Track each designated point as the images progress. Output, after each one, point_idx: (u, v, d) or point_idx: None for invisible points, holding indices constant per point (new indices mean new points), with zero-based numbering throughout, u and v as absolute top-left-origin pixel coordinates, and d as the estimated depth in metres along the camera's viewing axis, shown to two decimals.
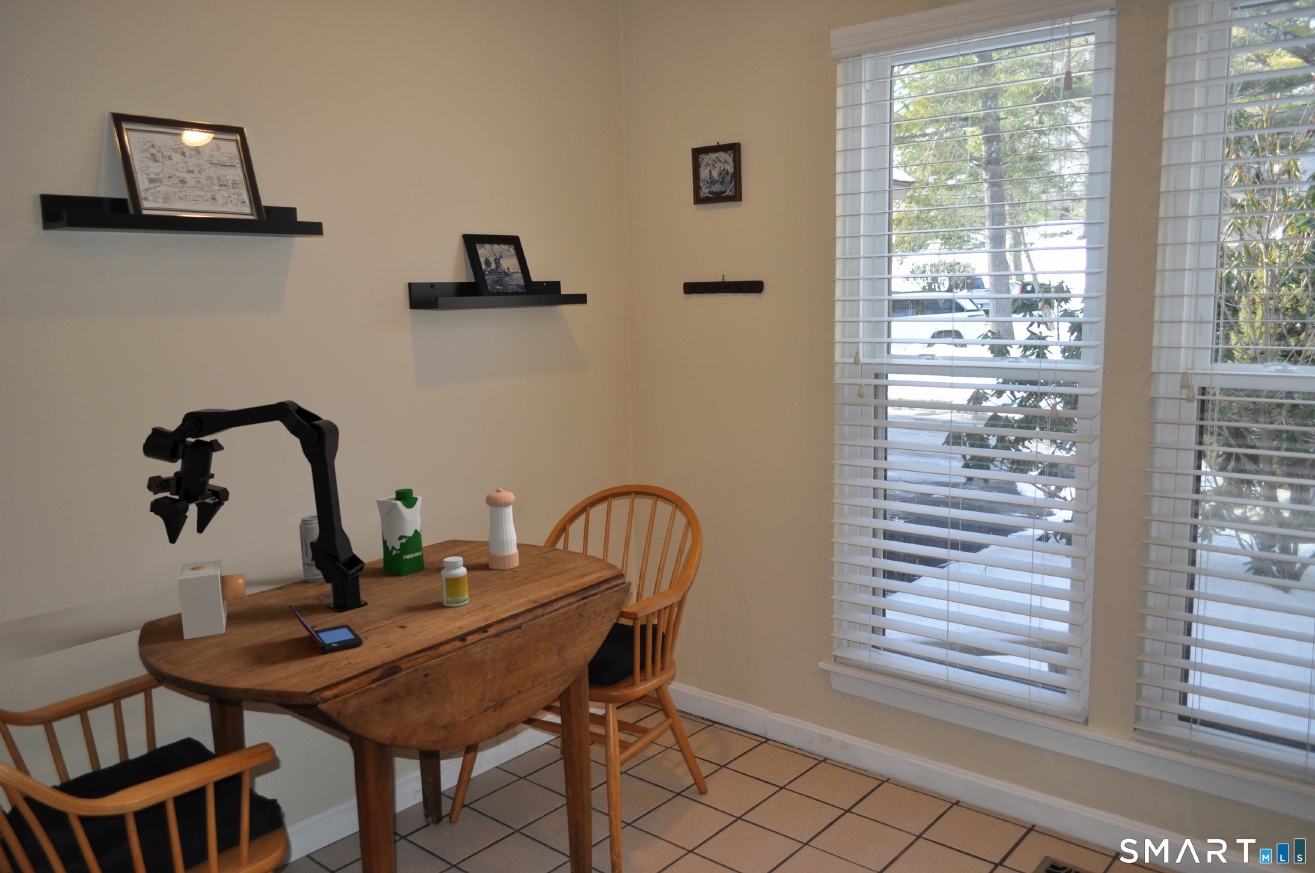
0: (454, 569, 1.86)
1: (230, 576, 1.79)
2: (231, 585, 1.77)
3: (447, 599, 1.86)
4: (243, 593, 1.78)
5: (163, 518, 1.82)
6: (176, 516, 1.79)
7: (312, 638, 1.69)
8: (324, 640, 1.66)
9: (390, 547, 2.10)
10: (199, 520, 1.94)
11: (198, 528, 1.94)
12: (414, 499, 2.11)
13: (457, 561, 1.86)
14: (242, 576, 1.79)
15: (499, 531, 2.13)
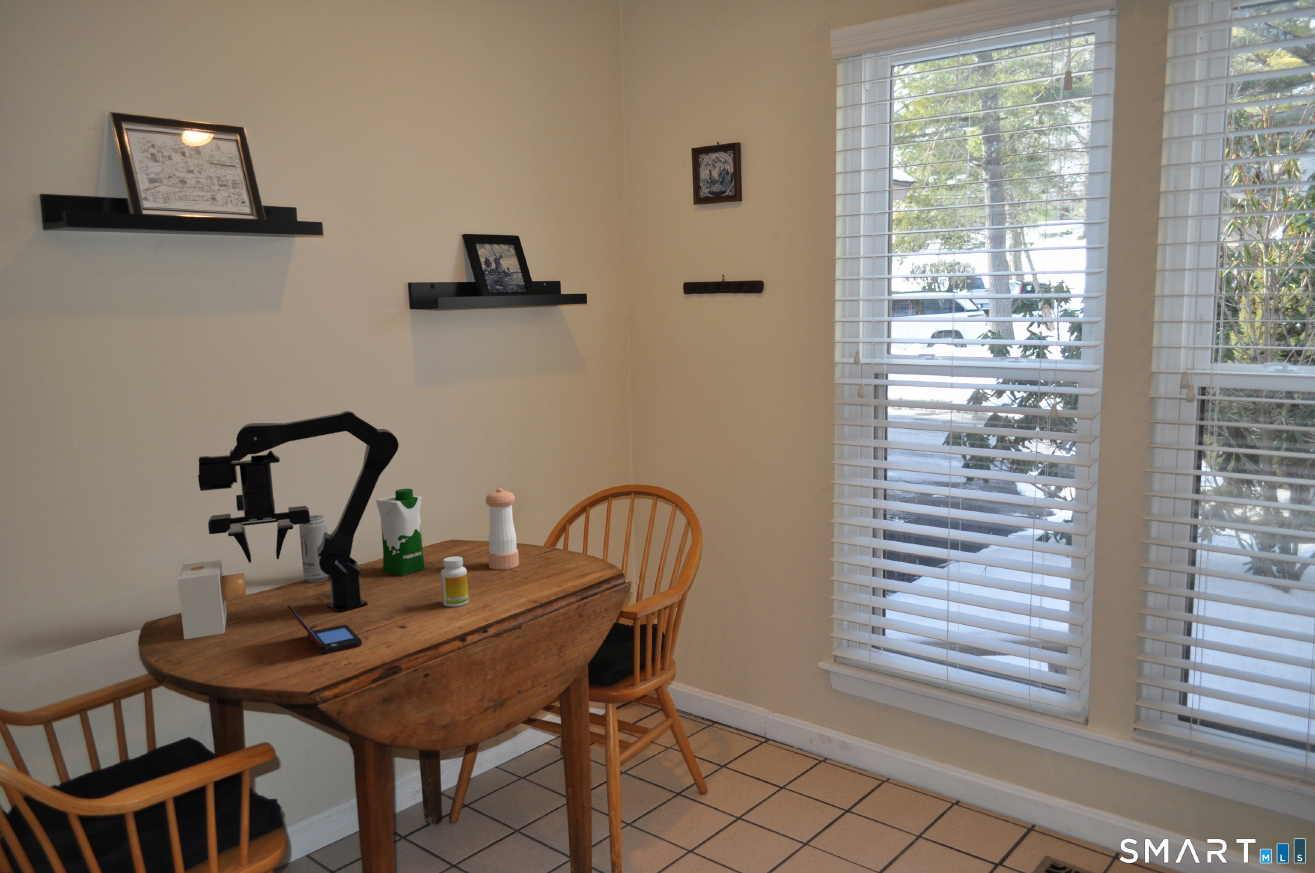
0: (454, 569, 1.86)
1: (230, 576, 1.79)
2: (231, 585, 1.77)
3: (447, 599, 1.86)
4: (243, 593, 1.78)
5: None
6: (211, 533, 1.75)
7: (311, 638, 1.69)
8: (323, 640, 1.66)
9: (390, 547, 2.10)
10: (277, 544, 1.83)
11: None
12: (414, 499, 2.11)
13: (457, 561, 1.86)
14: (242, 576, 1.79)
15: (499, 531, 2.13)
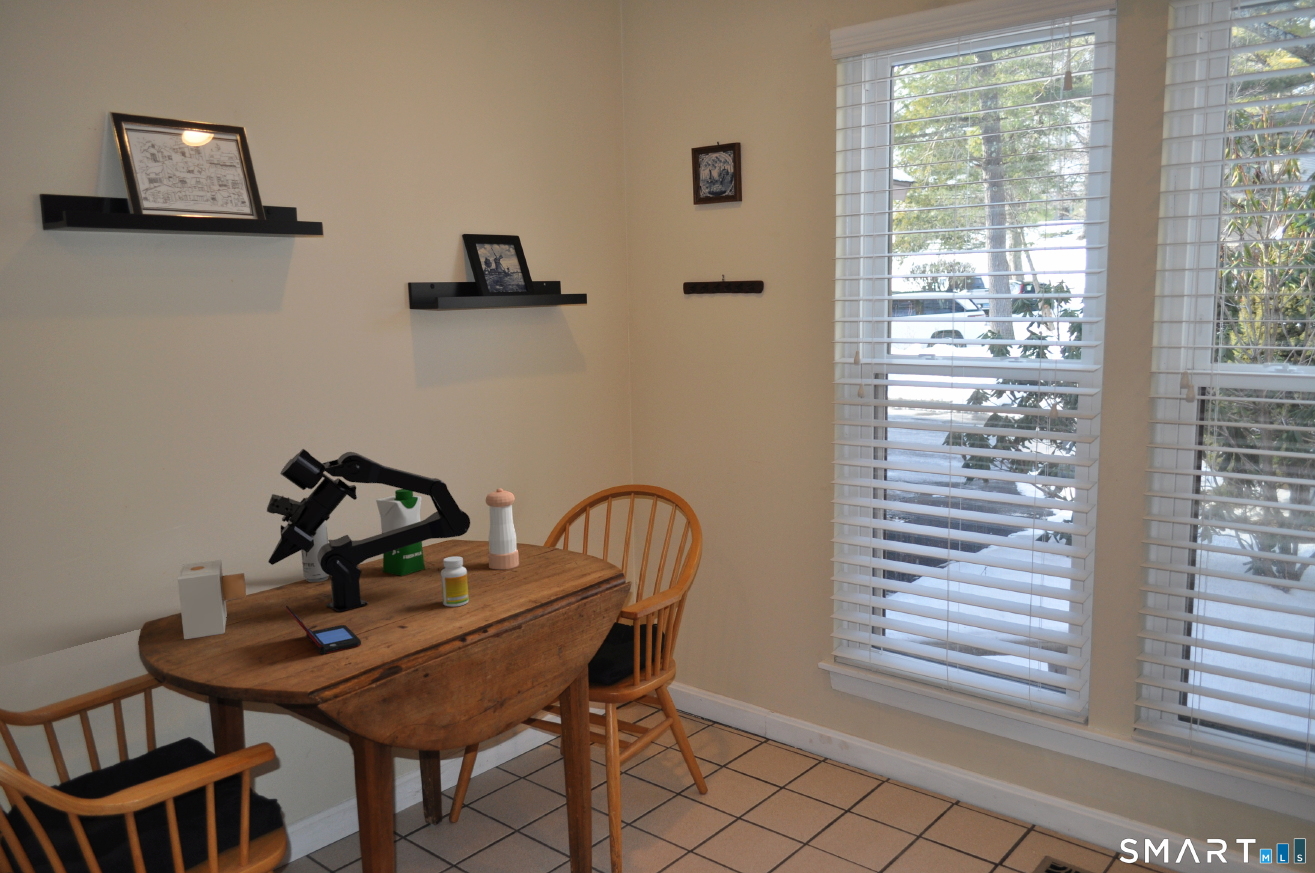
0: (454, 569, 1.86)
1: (230, 576, 1.79)
2: (231, 585, 1.77)
3: (447, 599, 1.86)
4: (243, 593, 1.78)
5: (283, 539, 1.81)
6: (308, 551, 1.76)
7: (309, 639, 1.69)
8: (322, 640, 1.66)
9: None
10: None
11: None
12: (414, 499, 2.11)
13: (457, 561, 1.86)
14: (242, 576, 1.79)
15: (499, 531, 2.13)
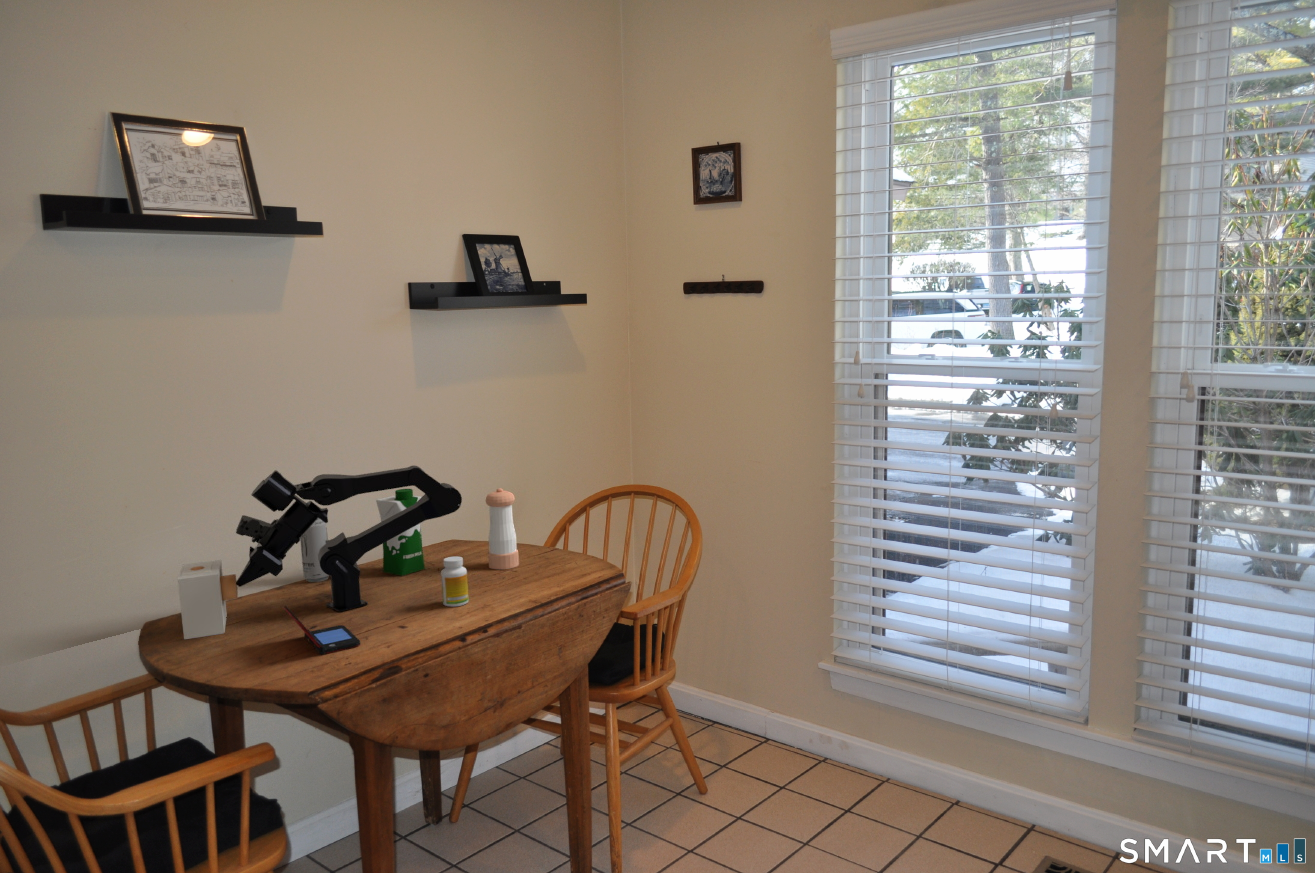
0: (454, 569, 1.86)
1: (222, 577, 1.78)
2: (222, 586, 1.77)
3: (447, 599, 1.86)
4: (234, 594, 1.78)
5: (251, 562, 1.79)
6: (276, 575, 1.74)
7: (308, 639, 1.69)
8: (321, 641, 1.65)
9: (390, 547, 2.10)
10: None
11: None
12: (414, 499, 2.11)
13: (457, 561, 1.86)
14: (233, 577, 1.78)
15: (499, 531, 2.13)
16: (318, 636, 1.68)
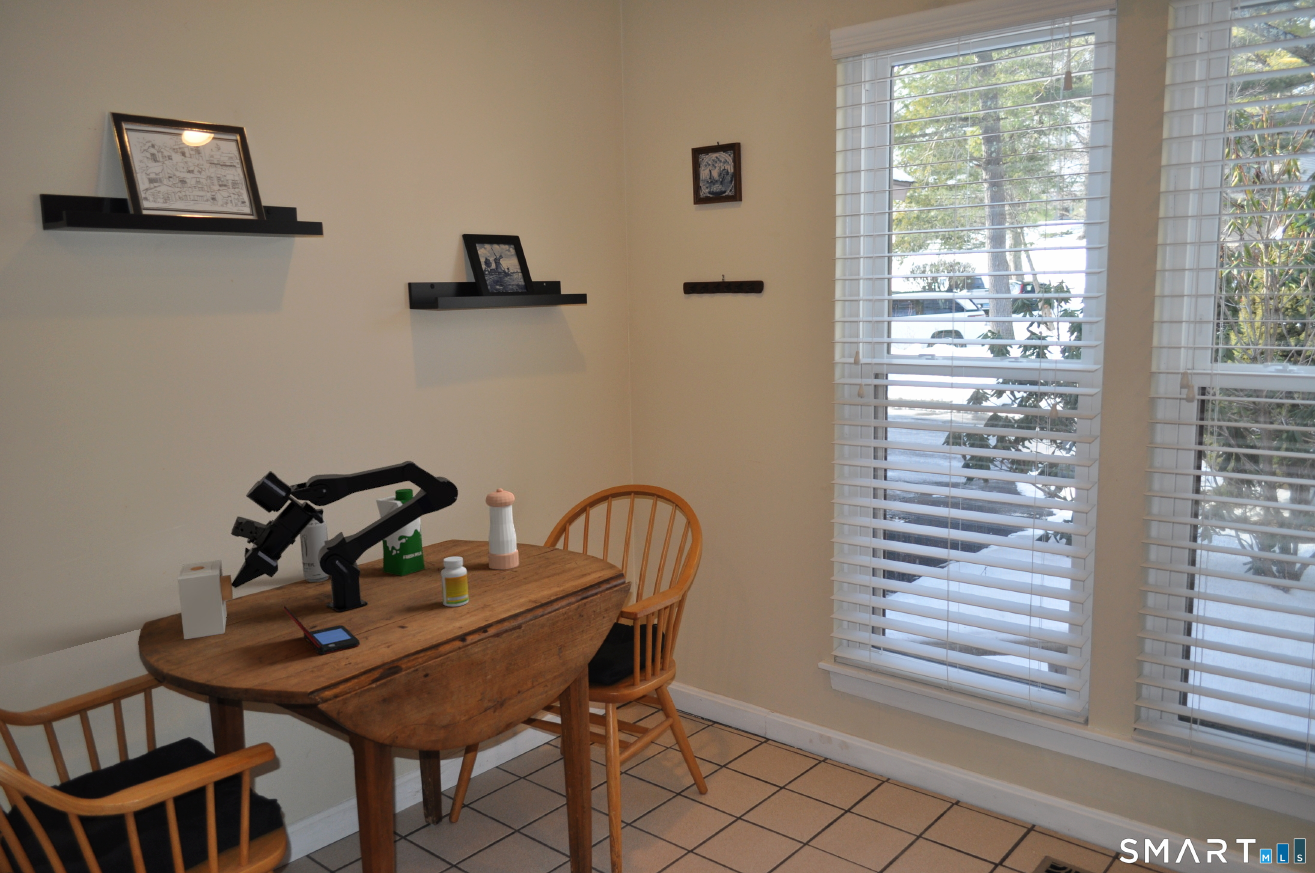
0: (454, 569, 1.86)
1: None
2: None
3: (447, 599, 1.86)
4: (229, 595, 1.78)
5: (247, 563, 1.78)
6: (271, 576, 1.74)
7: (307, 639, 1.69)
8: (320, 641, 1.65)
9: (390, 547, 2.10)
10: None
11: None
12: None
13: (457, 561, 1.86)
14: (228, 578, 1.78)
15: (499, 531, 2.13)
16: (317, 636, 1.68)
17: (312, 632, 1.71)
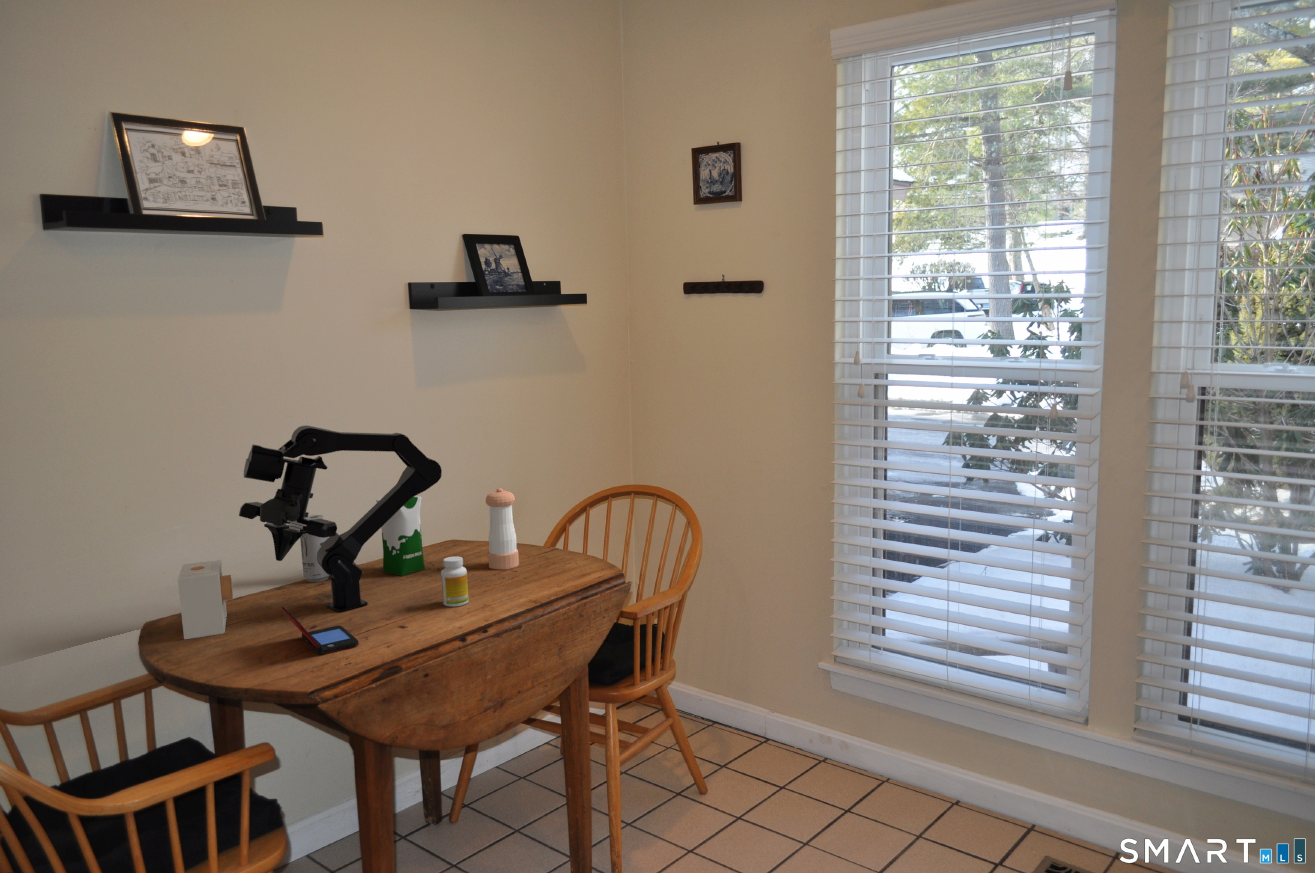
0: (454, 569, 1.86)
1: None
2: None
3: (447, 599, 1.86)
4: (229, 595, 1.78)
5: (291, 537, 1.80)
6: None
7: (306, 640, 1.68)
8: (319, 641, 1.65)
9: (390, 547, 2.10)
10: (279, 546, 1.81)
11: None
12: (414, 499, 2.11)
13: (457, 561, 1.86)
14: (228, 578, 1.78)
15: (499, 531, 2.13)
16: (316, 637, 1.68)
17: (310, 632, 1.71)
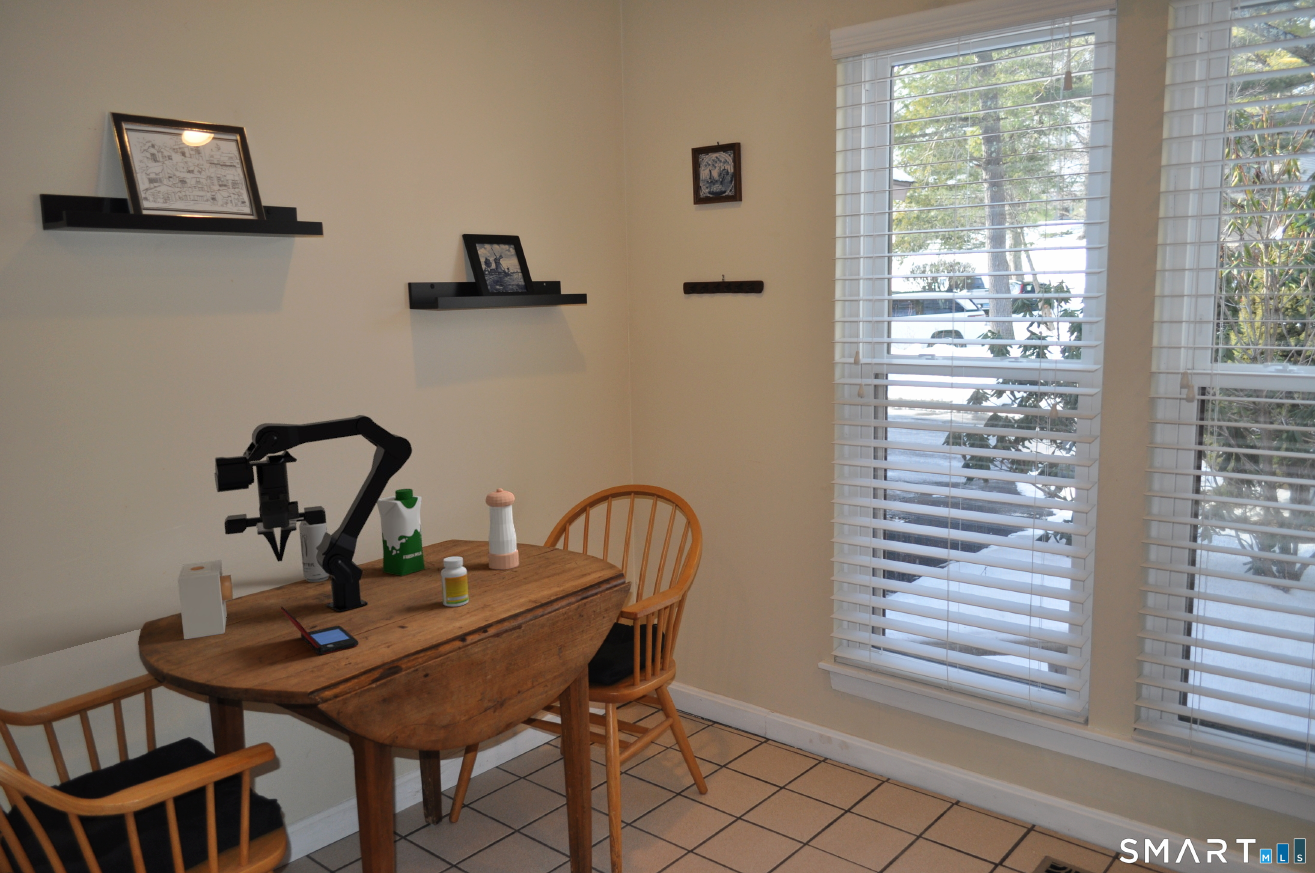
0: (454, 569, 1.86)
1: None
2: None
3: (447, 599, 1.86)
4: (229, 595, 1.78)
5: None
6: None
7: (305, 640, 1.68)
8: (318, 641, 1.65)
9: (390, 547, 2.10)
10: None
11: None
12: (414, 499, 2.11)
13: (457, 561, 1.86)
14: (228, 578, 1.78)
15: (499, 531, 2.13)
16: (315, 637, 1.68)
17: (309, 633, 1.71)
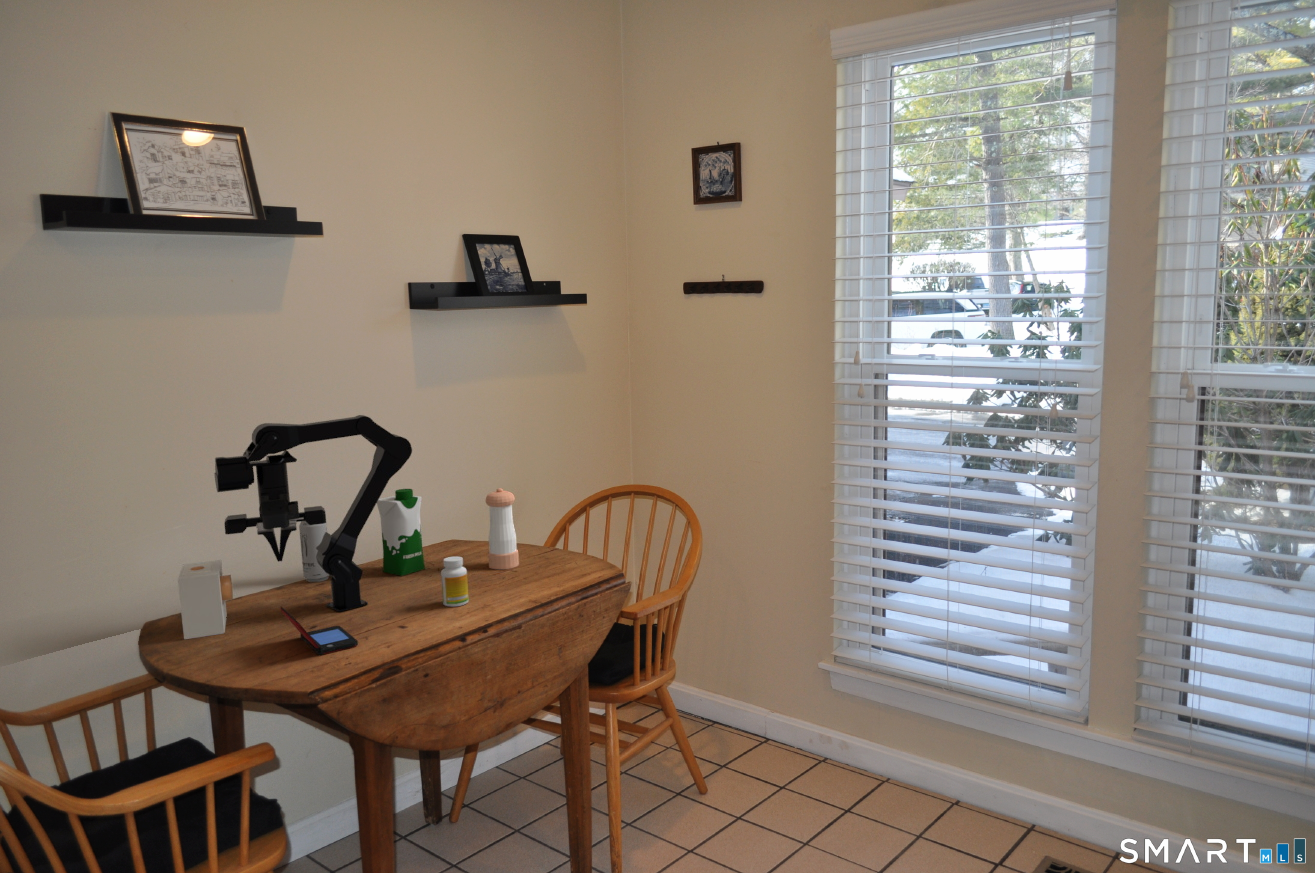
0: (454, 569, 1.86)
1: None
2: None
3: (447, 599, 1.86)
4: (229, 595, 1.78)
5: None
6: None
7: (304, 640, 1.68)
8: (318, 641, 1.65)
9: (390, 547, 2.10)
10: None
11: None
12: (414, 499, 2.11)
13: (457, 561, 1.86)
14: (228, 578, 1.78)
15: (499, 531, 2.13)
16: (315, 637, 1.68)
17: (309, 633, 1.70)
